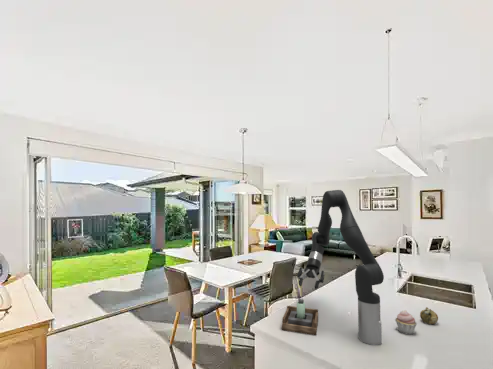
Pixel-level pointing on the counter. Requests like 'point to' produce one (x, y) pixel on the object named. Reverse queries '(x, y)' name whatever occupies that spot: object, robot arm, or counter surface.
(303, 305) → the mint green cylinder
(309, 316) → the box
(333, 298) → the counter surface
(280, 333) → the counter surface
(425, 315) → the olive green pumpkin
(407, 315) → the cupcake
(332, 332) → the counter surface
